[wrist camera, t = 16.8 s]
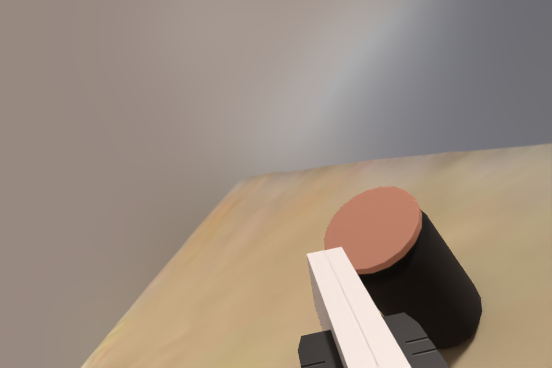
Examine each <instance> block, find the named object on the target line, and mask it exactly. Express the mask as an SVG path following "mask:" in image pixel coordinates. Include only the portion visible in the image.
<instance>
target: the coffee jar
mask: <svg viewBox="0 0 552 368" xmlns="http://www.w3.org/2000/svg"><path fill="white" fill-rule="evenodd" d="M324 240H325V250H328V249H333V248H338V247H342V249H343V250H344V252H345V254H346V255H347V257H348V259H349V261H350V262H351V264H352V266H353V268H354V269H355V271H356V273H357V275H358V276H359V278H360V280H361V281H362V283H363V285H364V287H365V288H366V290H367V292H368V294H369V295H370V297H371V299H372V300H373V302H374V304H375V306H376V307H377V308H378V309H379V310H380V311H381V313H382V314H383V315H384V316H385V317H386V316H390V315H395V314H399V313H405V314H407V315H408V316H410V317H411V318H412V319H414V320H415V321H416V322H418V323H419V325H420V326H421V327H422V329H423V330H424V332H425V333H426V334H427V336H428V338H429V339H430V340H431V342H432V343H433V344H434V346H435V347H436V349H445V348H449V347H453V346H457V345H459V344H460V343H462V342H463V341H465V340H466V339H468V338H469V337H470V336H471V335H472V333H473V332H474V331H475V329H476V328H477V327H478V324H479V321H480V317H481V313H482V306H481V297H480V295H479V294H478V292H477V290H476V288H475V286H474V284H473V283H472V281H471V280H470V278H469V277H468V275H467V274H466V272H465V271H464V269H463V268H462V266H461V265H460V263H459V262H458V261H457V259H456V258H455V256H454V255H453V253H452V252H451V250H450V249H449V247H448V246H447V244H446V243H445V241H444V240H443V239H442V237H441V236H440V234H439V233H438V231H437V230H436V228H435V227H434V225H433V224H432V222H431V221H430V219H429V218H428V216H427V215H426V214H425V213H424V212H423V211H422V210H420V208H419V206H418V203H417V201H416V199H415V198H414V197H413V196H412V195H410V194H409V193H408V192H407V191H406V190H403V189H399V188H396V187H378V188H375V189H371V190H367V191H365V192H363V193H361V194H359V195H357V196H355V197H354V198H352V199H351V200H350V201H348V202H347V203H346V204H345V205H343V206H342V207H341V209H340V210H339V211H338V212H337V213H336V214H335V215H334V217H333V219H332V220H331V222H330V224H329V226H328V227H327V231H326V235H325V239H324Z"/></svg>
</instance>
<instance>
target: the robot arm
mask: <svg viewBox="0 0 552 368" xmlns="http://www.w3.org/2000/svg"><path fill="white" fill-rule="evenodd" d="M307 259H308V266H309V272H310V278H311V285H312V291H313V297H314V304H315V308H316V311H317V314H318V317H319V320H320V323H321V326H322V329H323V331H322V332H318V333H313V334H309V335H304V336H301V340H300V344H299V348H298V354H299V359H300V364H301V368H450V367H449V366H448V364H447V363H446V361H445V360H444V358H443V357H442V356H441V354H440V353H439V351H437V349H436V347H435V346H434V344H433V343H432V342H431V340H430V339H429V338H428V336H427V334H426V333H425V332H424V330H423V329H422V327H421V326H420V325H419V323H418V322H416V321H415V320H414V319H412V318H411V317H410V316H408V315H407V314H405V313H399V314H395V315H390V316H386V317H382V316H381V314H380V313H379V311H378V309H377V307H376V306H375V304H374V302H373V300H372V299H371V297H370V295H369V294H368V292H367V290H366V288H365V287H364V285H363V283H362V281H361V280H360V278H359V276H358V275H357V273H356V271H355V269H354V268H353V266H352V264H351V262H350V261H349V259H348V257H347V255H346V254H345V252H344V250H343V249H342V247H338V248H333V249H328V250H324V251H319V252H314V253H309V254H307Z"/></svg>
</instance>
